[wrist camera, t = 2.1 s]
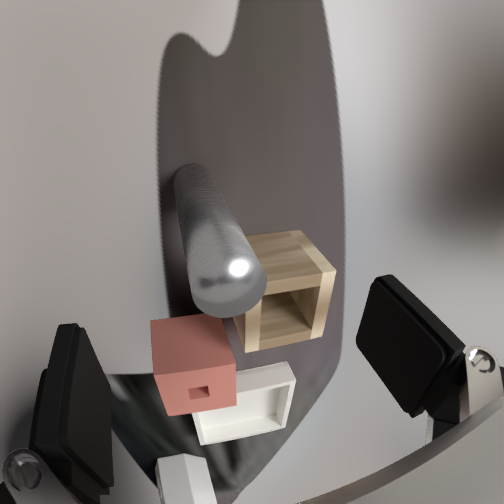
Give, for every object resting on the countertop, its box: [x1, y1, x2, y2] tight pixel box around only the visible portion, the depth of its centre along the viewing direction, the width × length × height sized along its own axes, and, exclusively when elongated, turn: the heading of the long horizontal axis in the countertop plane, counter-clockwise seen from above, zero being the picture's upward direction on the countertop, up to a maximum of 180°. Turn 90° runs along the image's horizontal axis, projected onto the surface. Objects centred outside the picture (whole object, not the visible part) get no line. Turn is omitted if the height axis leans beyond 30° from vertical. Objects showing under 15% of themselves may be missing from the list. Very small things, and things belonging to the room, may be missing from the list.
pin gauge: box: [173, 164, 267, 318], centre depth 15 cm, size 3×3×12 cm
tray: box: [192, 361, 296, 445], centre depth 33 cm, size 11×11×3 cm
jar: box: [155, 453, 217, 504], centre depth 36 cm, size 9×8×12 cm
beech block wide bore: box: [233, 230, 336, 353], centre depth 23 cm, size 6×6×6 cm
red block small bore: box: [151, 313, 237, 416], centre depth 25 cm, size 6×6×6 cm
